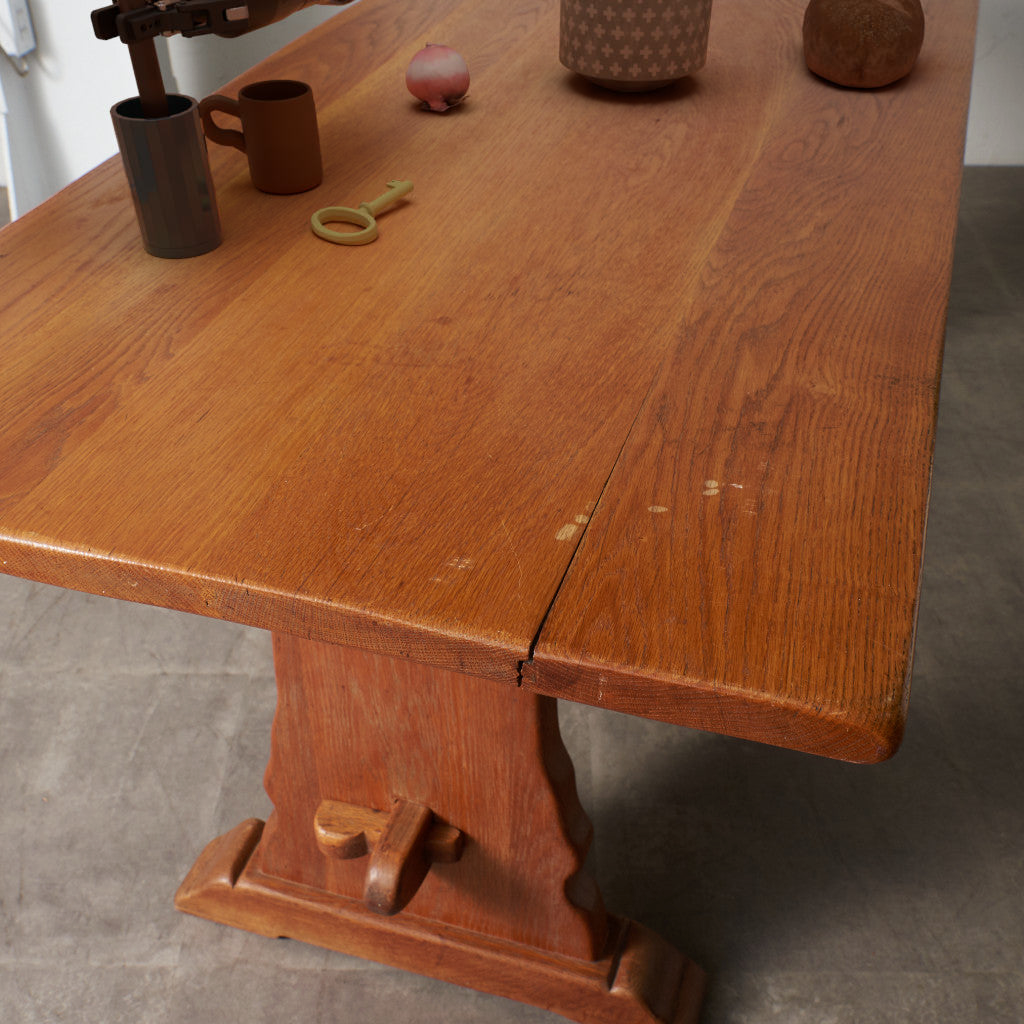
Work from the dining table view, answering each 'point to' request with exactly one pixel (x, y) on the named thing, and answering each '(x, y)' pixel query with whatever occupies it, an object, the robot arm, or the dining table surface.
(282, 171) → the mug
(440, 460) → the dining table surface
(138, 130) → the cup
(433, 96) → the onion
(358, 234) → the key
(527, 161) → the dining table surface
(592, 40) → the planter
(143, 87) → the brush
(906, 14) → the bread
